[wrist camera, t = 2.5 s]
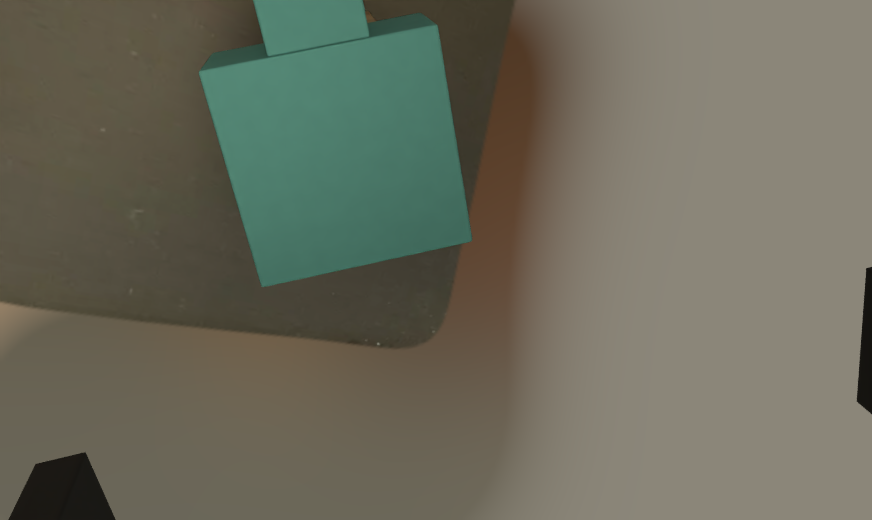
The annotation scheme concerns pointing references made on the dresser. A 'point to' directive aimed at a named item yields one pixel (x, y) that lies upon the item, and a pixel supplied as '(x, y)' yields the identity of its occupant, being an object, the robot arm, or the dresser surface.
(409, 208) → the teal tabbed block
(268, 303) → the dresser surface
